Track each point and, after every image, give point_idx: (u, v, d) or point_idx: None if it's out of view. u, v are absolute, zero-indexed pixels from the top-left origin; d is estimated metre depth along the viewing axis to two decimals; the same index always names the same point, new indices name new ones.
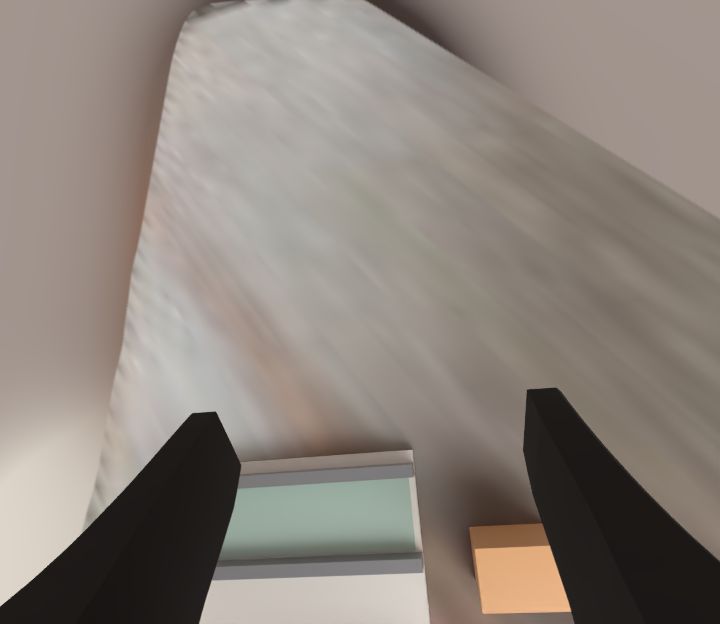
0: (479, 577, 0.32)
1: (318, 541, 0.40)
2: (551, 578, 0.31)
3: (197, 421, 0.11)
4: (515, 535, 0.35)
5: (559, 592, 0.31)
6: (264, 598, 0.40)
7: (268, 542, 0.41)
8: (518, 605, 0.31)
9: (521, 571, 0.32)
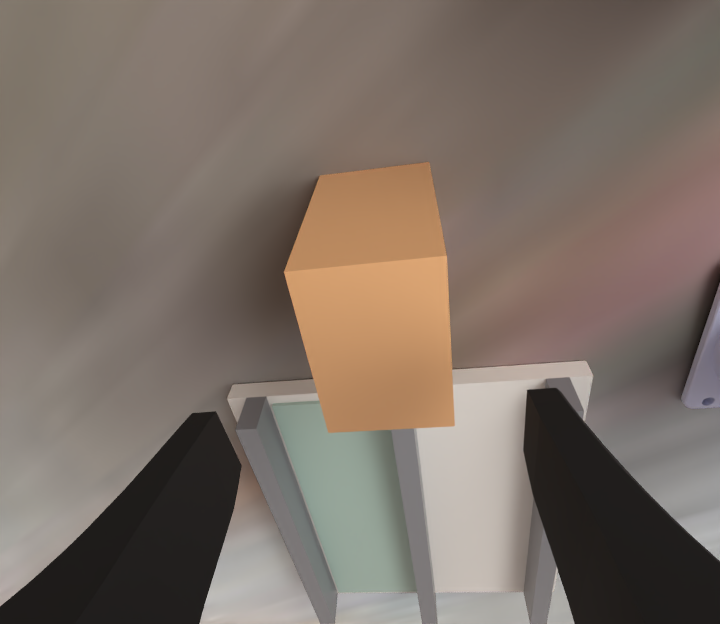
0: (383, 428, 0.15)
1: (385, 501, 0.27)
2: (370, 306, 0.12)
3: (197, 421, 0.11)
4: None
5: (402, 290, 0.12)
6: (463, 543, 0.29)
7: (391, 542, 0.29)
8: (436, 369, 0.13)
9: (362, 362, 0.13)
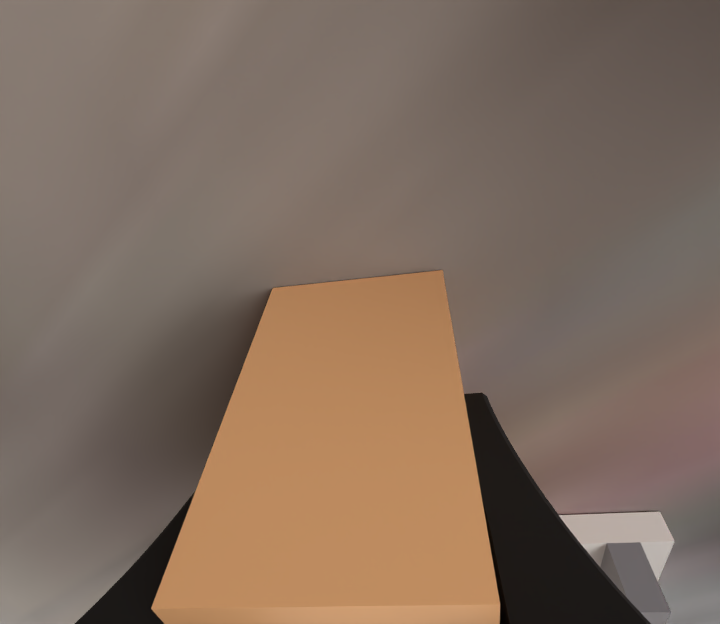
0: None
1: None
2: None
3: None
4: None
5: None
6: None
7: None
8: None
9: None
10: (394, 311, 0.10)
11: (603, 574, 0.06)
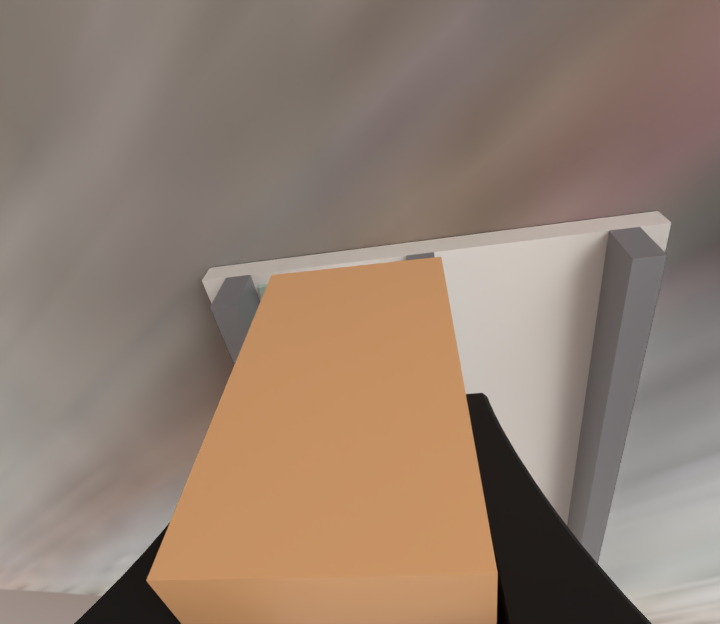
0: None
1: None
2: None
3: None
4: None
5: (398, 611, 0.06)
6: None
7: None
8: None
9: None
10: (393, 296, 0.10)
11: (604, 574, 0.06)
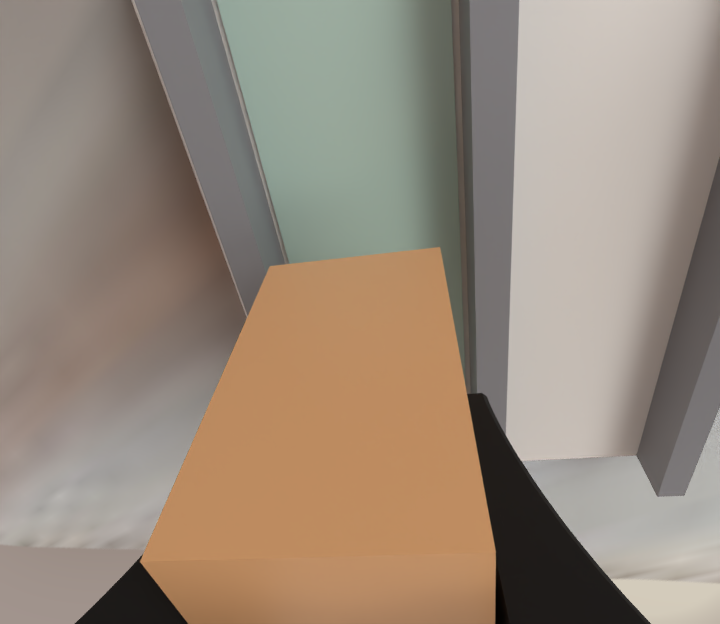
0: None
1: (428, 246, 0.15)
2: (330, 610, 0.06)
3: None
4: None
5: (395, 594, 0.06)
6: (554, 350, 0.17)
7: None
8: None
9: None
10: (391, 285, 0.10)
11: (603, 574, 0.06)
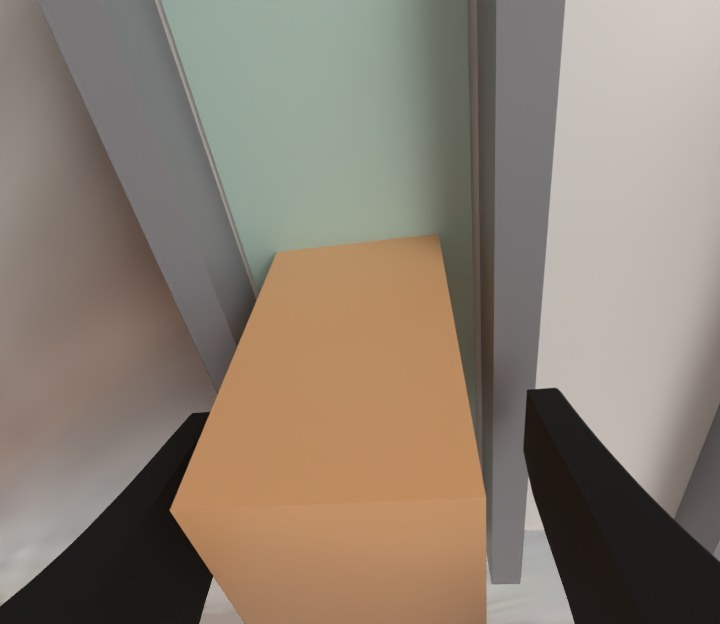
0: None
1: None
2: (338, 557, 0.07)
3: (197, 421, 0.11)
4: None
5: (397, 540, 0.06)
6: (581, 417, 0.15)
7: None
8: None
9: (331, 617, 0.08)
10: (392, 269, 0.10)
11: None
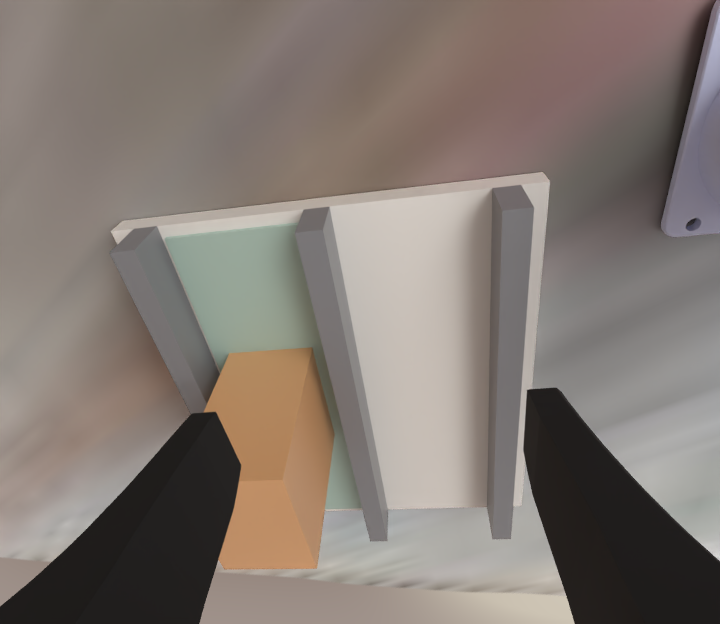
0: (264, 568, 0.20)
1: None
2: (237, 503, 0.17)
3: (197, 421, 0.11)
4: None
5: (257, 495, 0.17)
6: (413, 440, 0.25)
7: None
8: (293, 537, 0.18)
9: (239, 531, 0.18)
10: (283, 370, 0.21)
11: None
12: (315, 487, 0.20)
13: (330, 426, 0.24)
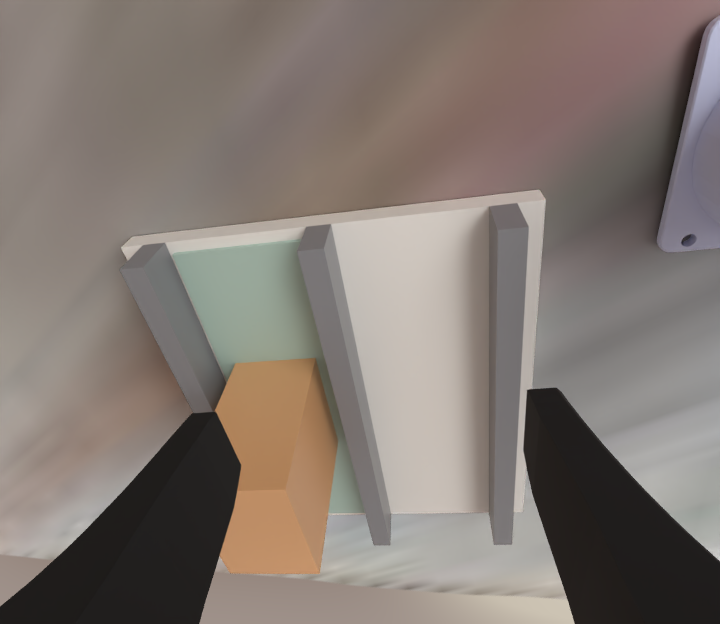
0: (269, 572, 0.20)
1: None
2: (241, 511, 0.18)
3: (197, 421, 0.11)
4: None
5: (261, 504, 0.17)
6: (415, 447, 0.26)
7: None
8: (296, 543, 0.19)
9: (244, 538, 0.19)
10: (287, 380, 0.21)
11: None
12: (318, 494, 0.21)
13: (333, 433, 0.25)
